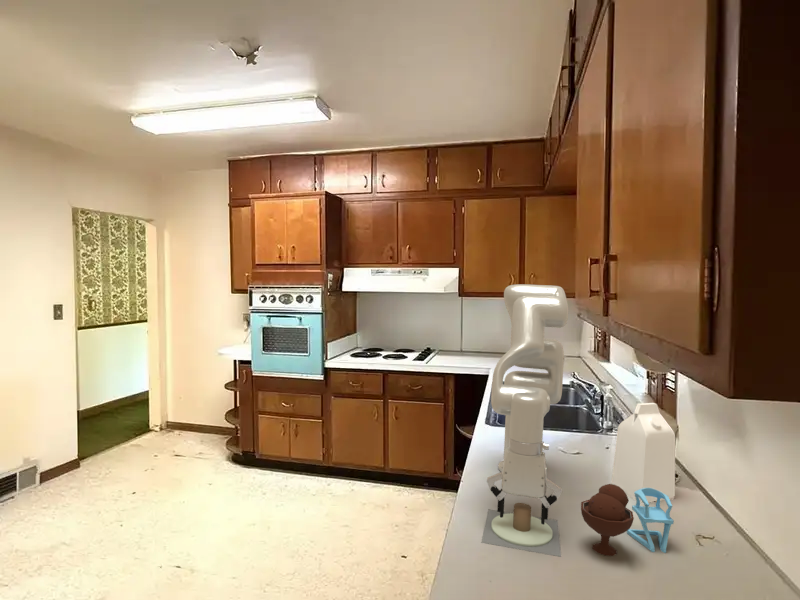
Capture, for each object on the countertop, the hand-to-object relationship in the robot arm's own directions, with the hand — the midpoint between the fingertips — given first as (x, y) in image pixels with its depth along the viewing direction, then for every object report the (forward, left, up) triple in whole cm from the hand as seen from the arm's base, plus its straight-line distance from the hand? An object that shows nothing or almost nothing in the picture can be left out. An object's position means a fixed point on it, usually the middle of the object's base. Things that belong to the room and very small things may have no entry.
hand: (522, 518), depth 114 cm
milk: (-36, +33, -4) cm, 49 cm away
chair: (-6, +29, -4) cm, 30 cm away
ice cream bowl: (+2, +18, -4) cm, 18 cm away
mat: (0, 0, -4) cm, 4 cm away
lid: (0, 0, -3) cm, 3 cm away
